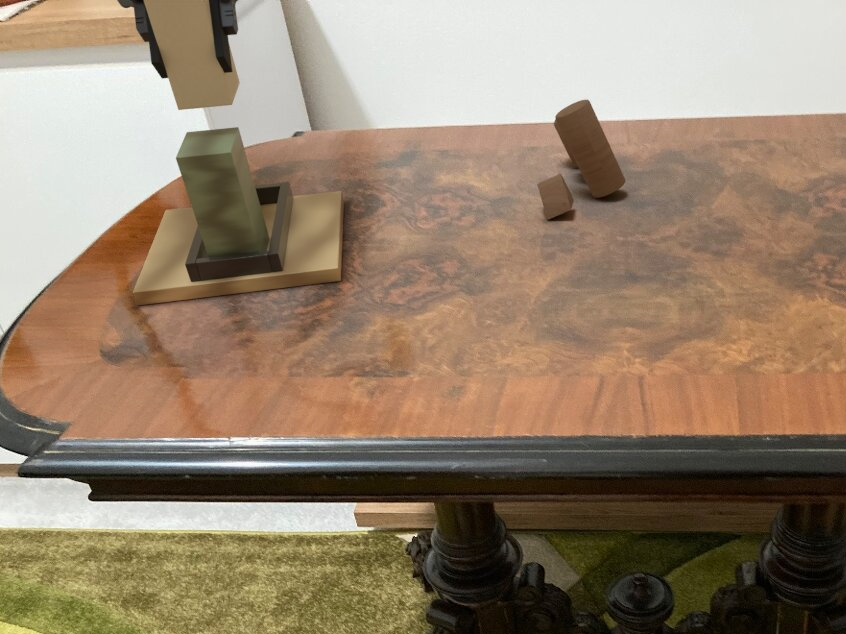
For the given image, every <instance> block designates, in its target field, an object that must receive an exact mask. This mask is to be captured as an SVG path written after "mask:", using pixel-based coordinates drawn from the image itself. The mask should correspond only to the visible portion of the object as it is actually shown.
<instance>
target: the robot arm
mask: <svg viewBox="0 0 846 634" xmlns="http://www.w3.org/2000/svg"><path fill="white" fill-rule="evenodd" d="M116 1H117V2H118V4H119V5H120V6H121V8H123V9H129V8H133V15H134V22H135V29H136V31H137V33H138V34H139V36H140V38H141V39H142V40H143V42H144V43H148V45H149V54H150V55H149V56H150V63H151V65H152V66H153V68H154V69H155V72H157V74H158V75H159V77H160V78H161V80H162V79H168V76H167V72H166V69H165V66H164V63H163V60H162V56H161V53H160V50H159V47H158V44H157V41H156V38H155V35H154V32H153V28H152V25H151V22H150V19H149V16H148V13H147V10H146V6H145V3H144V0H116ZM238 1H239V0H209V5H210V13H211V21H212V29H213V37H214V46H215V54H216V59H217V60H218V62H219V64H220V66H221V68H222V69H223V71H224V73H229V72H232V64H231V56H230V49H231V48H230V49H229V45H230V42H229V36H236V35H238V31H239V25H238V18H237V10H236V9H237V8H236V3H237V2H238Z"/></svg>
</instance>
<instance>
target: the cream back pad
mask: <svg viewBox="0 0 846 634" xmlns="http://www.w3.org/2000/svg"><path fill="white" fill-rule="evenodd" d="M144 3H145V6H146V10H147V13H148V16H149V19H150V22H151V25H152V28H153V32H154V35H155V38H156V41H157V44H158V47H159V50H160V53H161V56H162V60H163V63H164V66H165V69H166V72H167V76H168V78H167V79H168V81H169V84H170V88H171V91H172V94H173V97H174V100H175V104H176V106H177V110H178V111H182V110H183V111H184V110H194V109H195V110H196V109H203V108H204V109H205V108H215V107H226V106H233V103H234V99H235V97H236V94H237V92H238V89H239V86H240V78H239V75H238V71H237V67H236V63H235V60H234V57H233V53H232V50H231V45H230V44H229V49H230V56H231V64H232V72H229V73H224V71H223V69H222V68H221V66H220V64H219V62H218V60H217V59H216V54H215V46H214V37H213V29H212V21H211V13H210V5H209V0H144Z"/></svg>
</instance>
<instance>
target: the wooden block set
mask: <svg viewBox="0 0 846 634" xmlns="http://www.w3.org/2000/svg"><path fill="white" fill-rule="evenodd" d="M554 118H555V119H554V122H553V126H554V128H555V130H556V132H557V135H558V137H559V139H560V142H561V143H562V145H563V147H564V149H565V151H566V154H567V155H568V157H569V159H570V161H571V163H572V166H573V167H574V168H578V170H579V171H580V173H581V176H582V178H583V180H584V182H585V183H586V186H587V187H588V190H589V192H590V194H591V196H592V197H593V198H602V197H606V196H609V195H611V194H613V193H615V192H617V191H618V190H619V189H621V188H622V187H623V186H624V185H625V184H626V178H625V176H624V174H623V171H622V169H621V167H620V165H619V163H618V160H617V158H616V156H615V153H614V151H613V149H612V147H611V145H610V143H609V141H608V138H607V136H606V134H605V132H604V129H603V128H602V127H603V126H602V125H601V123H600V121H599V118H598V116H597V114H596V111H595V110H594V108H593V105H592V102H591V100H589V99H581V100H578V101H576V102H573V103H571V104H569V105H567V106H566V107H564V108H562V109H561V110H559V111H558V112H557V113H556V115H555V117H554ZM536 186H537V189H538V192H539V195H540V196H539V197H540V200H541V203H542V206H543V210H544V213H545V217H546V220H551V219H553V218H556V217H558V216H560V215H562V214H565V213H567V212H570V211H572V209H573V204H574V200H575V198H574V197H573V195H572V193H571V191H570V188H569V187H568V185H567V183H566V181H565V179H564V177H563V175H562V173H559V174H556V175H554V176H552V177H549V178H546V179H545V180H542V181H540V182H538V183H537V184H536Z"/></svg>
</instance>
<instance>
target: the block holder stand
mask: <svg viewBox="0 0 846 634" xmlns="http://www.w3.org/2000/svg"><path fill="white" fill-rule="evenodd" d="M175 161H176V163H177V166H178V170H179V172H180V175H181V179H182V181H183V184H184V187H185V190H186V193H187V197H188V199H189V202H190V203H189V204H190V205H191V206H190V207H180V208H171V209H165V210H164V213H163V215H162V218H161V220H160V223H159V226H158V227H157V231H156V233H155V235H154V238H153V241H152V243H151V246H150V248H149V251H148V253H147V255H146V258H145V261H144V263H143V266H142V268H141V270H140V272H139V275H138V278H137V280H136V283H135V285H134V288H133V290H132V295H133V298H134V300H135V303H136V305H137V306H144V305H145V306H146V305H154V304H163V303H168V302H178V301H186V300H193V299H194V300H195V299H203V298H210V297H219V296H227V295H234V294H242V293H243V294H244V293H253V292H261V291H268V290H277V289H284V288H293V287H301V286H311V285H318V284H325V283H332V282H341V281H342V264H343V263H342V262H343V261H342V260H343V240H344V239H343V237H344V211H345V200H344V196H343V191H342V190H336V191H328V192H327V191H325V192H319V193H309V194H301V195H300V194H299V195H294V194H293V191H292V187H291V182H290V181H288V182H287V181H286V182H275V183H267V184H265V183H264V184H258V185H255V181H254V178H253V175H252V174H253V173H252V170H251V167H250V164H249V160H248V157H247V153H246V149H245V145H244V142H243V139H242V136H241V131H240V128H239V127H238V126H236V127H235V126H234V127H225V128H216V129H206V130H205V129H204V130H197V131H196V130H195V131H187V132H186V133H185V136H184V138H183V140H182V142H181V144H180V147H179V149H178V152H177V154H176V157H175Z"/></svg>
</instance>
